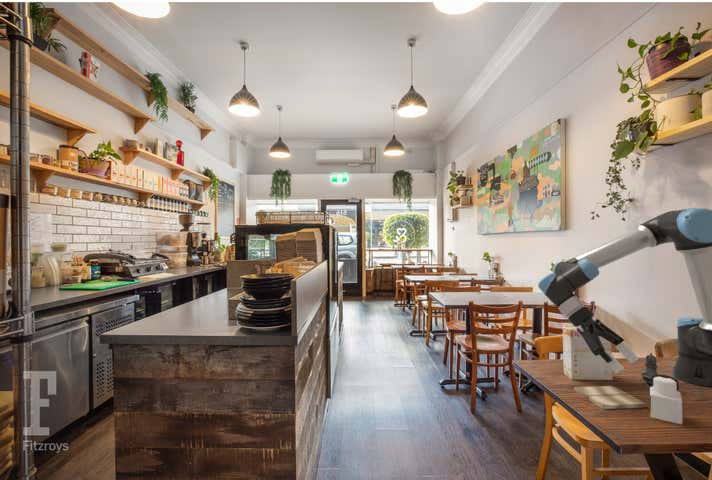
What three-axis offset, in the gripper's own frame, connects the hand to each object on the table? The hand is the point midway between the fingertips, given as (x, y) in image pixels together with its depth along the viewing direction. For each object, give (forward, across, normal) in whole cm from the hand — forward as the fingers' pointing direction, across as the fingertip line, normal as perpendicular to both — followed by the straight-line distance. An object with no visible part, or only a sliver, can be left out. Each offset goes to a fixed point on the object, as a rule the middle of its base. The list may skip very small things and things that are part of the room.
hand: (628, 366), depth 115 cm
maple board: (+5, -1, -14) cm, 14 cm away
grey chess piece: (+9, -25, -10) cm, 29 cm away
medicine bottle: (+16, -1, -3) cm, 16 cm away
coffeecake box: (-4, -17, -22) cm, 28 cm away
